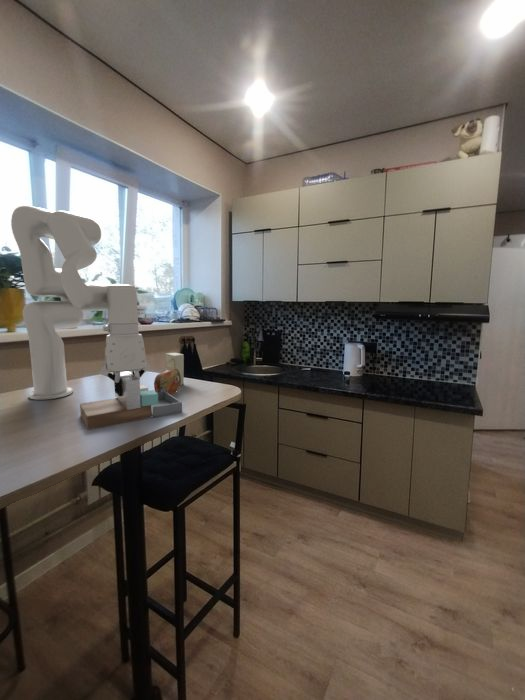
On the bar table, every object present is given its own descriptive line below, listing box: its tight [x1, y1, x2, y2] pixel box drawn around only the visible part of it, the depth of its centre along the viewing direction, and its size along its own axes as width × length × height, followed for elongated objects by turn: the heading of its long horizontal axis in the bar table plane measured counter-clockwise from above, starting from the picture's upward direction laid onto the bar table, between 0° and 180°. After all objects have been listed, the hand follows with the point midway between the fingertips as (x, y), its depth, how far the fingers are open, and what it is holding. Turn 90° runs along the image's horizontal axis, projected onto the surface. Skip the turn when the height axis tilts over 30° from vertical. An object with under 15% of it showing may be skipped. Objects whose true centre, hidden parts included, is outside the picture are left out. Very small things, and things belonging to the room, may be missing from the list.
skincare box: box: [165, 352, 185, 386], centre depth 126 cm, size 6×4×12 cm
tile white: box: [140, 384, 149, 392], centre depth 98 cm, size 4×4×3 cm
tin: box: [153, 369, 181, 396], centre depth 113 cm, size 15×3×8 cm, turn 168°
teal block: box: [140, 389, 158, 406], centre depth 92 cm, size 4×4×3 cm
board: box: [79, 397, 153, 431], centre depth 91 cm, size 12×16×4 cm
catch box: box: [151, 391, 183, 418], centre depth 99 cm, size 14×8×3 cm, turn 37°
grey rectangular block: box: [114, 371, 141, 410], centre depth 92 cm, size 4×14×8 cm, turn 36°
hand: (127, 393), depth 92 cm, fingers closed on grey rectangular block, 3 cm apart
